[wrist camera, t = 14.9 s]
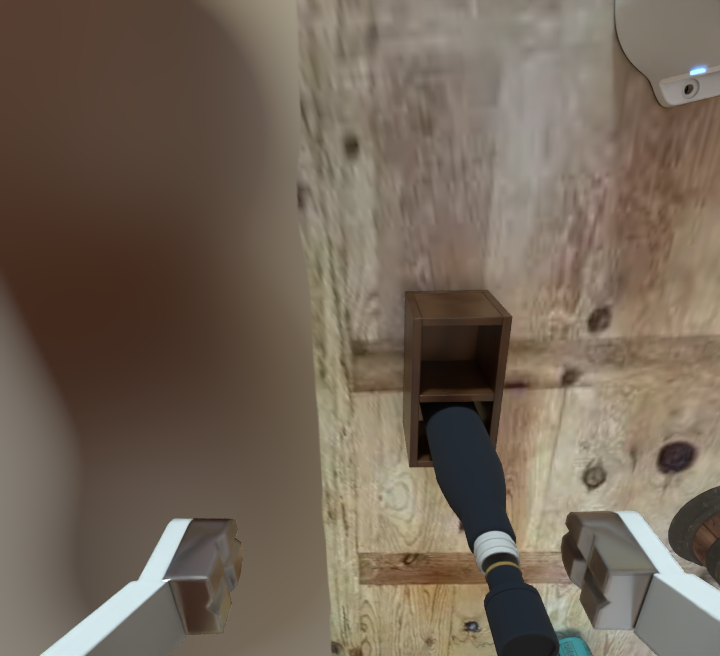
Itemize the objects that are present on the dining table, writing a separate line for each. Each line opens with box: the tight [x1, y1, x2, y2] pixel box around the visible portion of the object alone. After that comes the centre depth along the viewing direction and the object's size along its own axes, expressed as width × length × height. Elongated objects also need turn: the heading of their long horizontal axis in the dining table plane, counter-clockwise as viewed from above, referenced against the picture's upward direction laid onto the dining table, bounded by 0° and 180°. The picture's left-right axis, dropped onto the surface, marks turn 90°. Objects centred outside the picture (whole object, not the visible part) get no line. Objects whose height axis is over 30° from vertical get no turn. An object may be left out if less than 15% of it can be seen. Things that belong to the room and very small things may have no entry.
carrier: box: [403, 290, 512, 467], centre depth 48 cm, size 10×19×9 cm, turn 1°
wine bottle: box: [419, 401, 560, 656], centre depth 39 cm, size 6×6×30 cm
